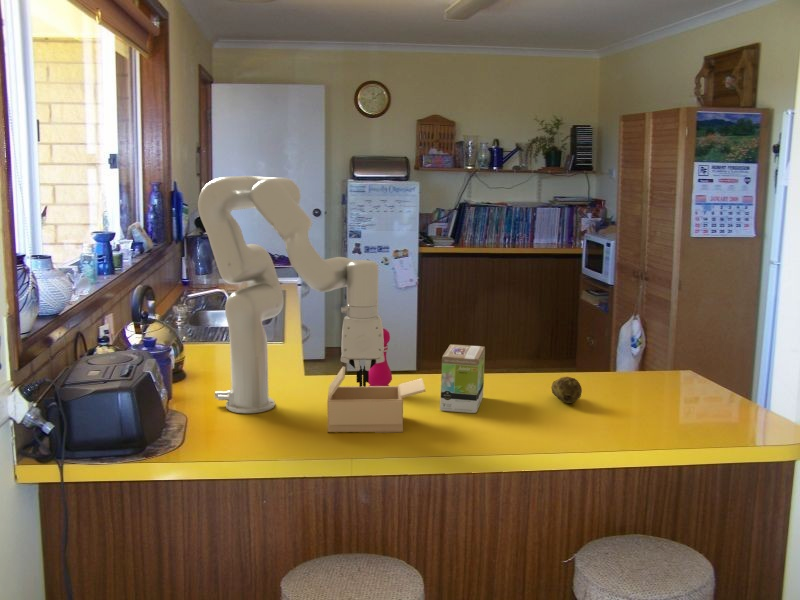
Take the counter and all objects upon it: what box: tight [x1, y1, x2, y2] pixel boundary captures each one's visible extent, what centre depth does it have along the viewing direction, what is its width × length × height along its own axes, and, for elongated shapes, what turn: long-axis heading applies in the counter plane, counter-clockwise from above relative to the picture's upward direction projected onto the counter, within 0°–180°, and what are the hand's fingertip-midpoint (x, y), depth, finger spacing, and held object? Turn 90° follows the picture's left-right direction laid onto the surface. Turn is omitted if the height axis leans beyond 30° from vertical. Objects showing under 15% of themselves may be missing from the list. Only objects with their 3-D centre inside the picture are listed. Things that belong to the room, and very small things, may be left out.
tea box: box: [439, 344, 486, 414], centre depth 224 cm, size 15×10×15 cm, turn 168°
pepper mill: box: [367, 327, 393, 386], centre depth 233 cm, size 7×7×20 cm
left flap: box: [327, 366, 346, 398], centre depth 206 cm, size 1×10×6 cm
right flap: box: [398, 377, 426, 399], centre depth 207 cm, size 1×10×6 cm
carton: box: [326, 385, 404, 433], centre depth 208 cm, size 18×13×8 cm
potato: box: [551, 376, 583, 404], centre depth 226 cm, size 8×13×8 cm, turn 166°
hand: (362, 385), depth 206 cm, fingers closed
